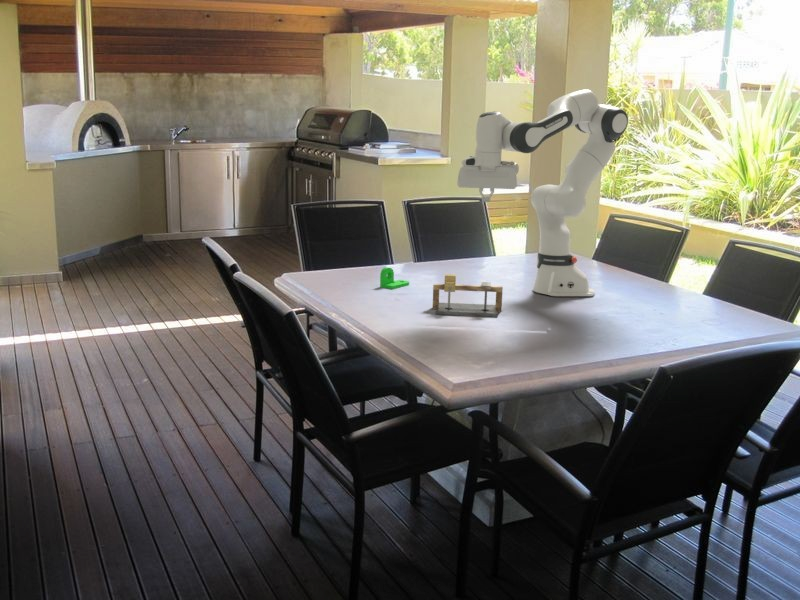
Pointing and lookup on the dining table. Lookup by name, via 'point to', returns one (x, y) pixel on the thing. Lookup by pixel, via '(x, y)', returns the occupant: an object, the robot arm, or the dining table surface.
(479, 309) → the bolt plate
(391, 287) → the mechanical part
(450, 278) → the slider leg
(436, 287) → the wooden frame rack
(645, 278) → the dining table surface
